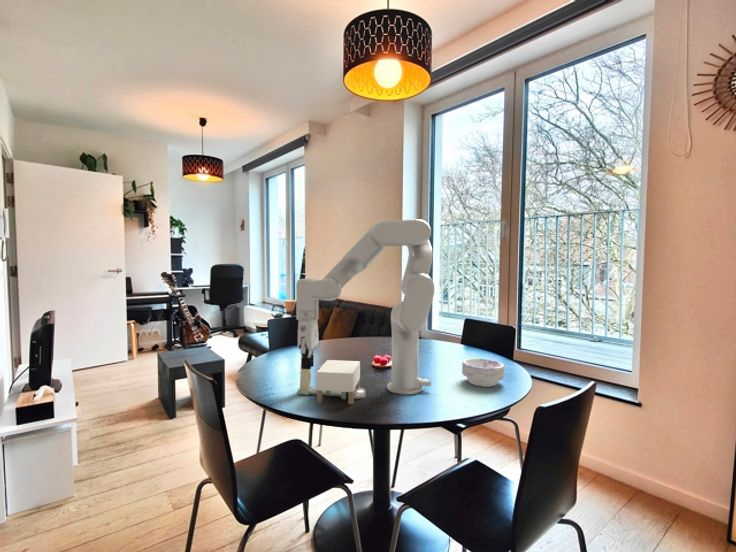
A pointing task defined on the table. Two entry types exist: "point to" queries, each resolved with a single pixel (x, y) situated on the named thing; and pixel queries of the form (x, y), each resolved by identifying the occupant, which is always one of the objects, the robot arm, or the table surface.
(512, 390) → the table surface
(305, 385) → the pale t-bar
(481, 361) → the paper bowls
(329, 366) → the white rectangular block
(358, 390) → the silver dome
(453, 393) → the table surface
